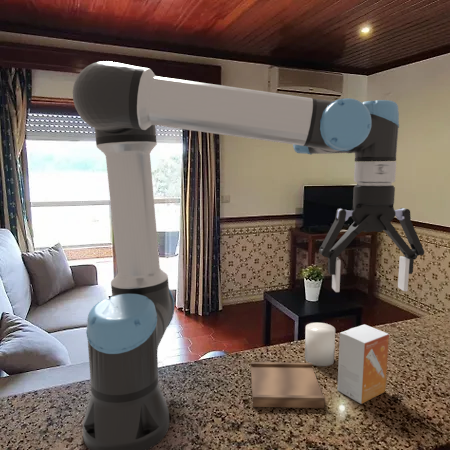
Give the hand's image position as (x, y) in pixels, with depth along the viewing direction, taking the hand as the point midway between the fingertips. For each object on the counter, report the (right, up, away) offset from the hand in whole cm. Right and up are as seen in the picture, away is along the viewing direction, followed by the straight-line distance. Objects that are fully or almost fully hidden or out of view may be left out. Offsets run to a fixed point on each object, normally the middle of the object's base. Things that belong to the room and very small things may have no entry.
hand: (369, 289), depth 79 cm
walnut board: (-16, -22, +5) cm, 28 cm away
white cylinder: (-6, -20, +18) cm, 28 cm away
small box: (0, -22, +3) cm, 22 cm away
